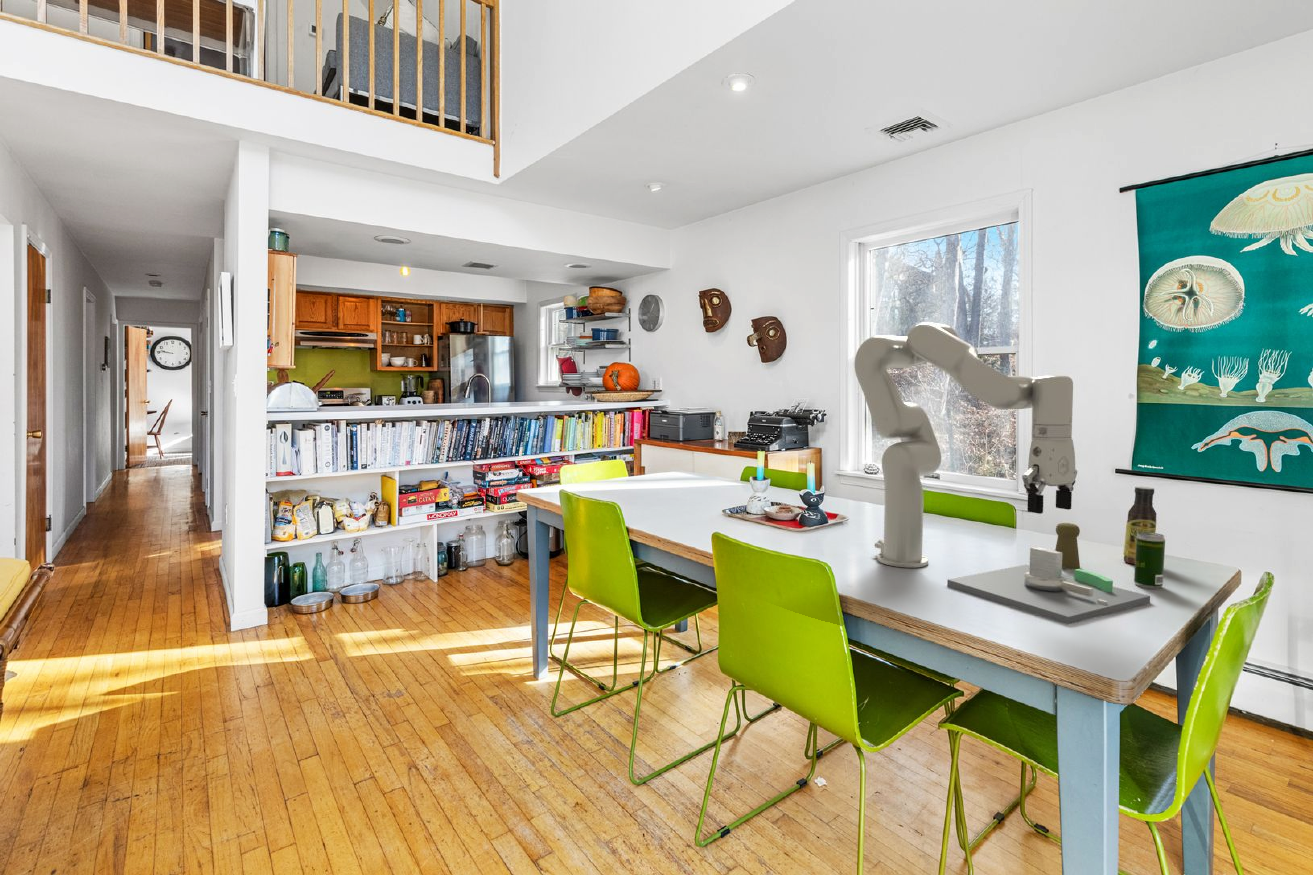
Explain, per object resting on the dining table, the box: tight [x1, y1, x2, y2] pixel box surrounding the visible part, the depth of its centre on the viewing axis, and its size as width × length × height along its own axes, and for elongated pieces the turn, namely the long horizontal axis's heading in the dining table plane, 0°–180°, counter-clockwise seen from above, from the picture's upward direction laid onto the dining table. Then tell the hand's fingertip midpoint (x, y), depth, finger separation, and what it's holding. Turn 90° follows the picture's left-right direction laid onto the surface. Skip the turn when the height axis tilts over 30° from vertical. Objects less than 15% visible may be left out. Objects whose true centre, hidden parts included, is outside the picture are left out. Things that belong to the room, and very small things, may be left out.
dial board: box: [946, 564, 1151, 625], centre depth 147 cm, size 28×28×4 cm
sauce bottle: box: [1123, 486, 1157, 565], centre depth 172 cm, size 7×6×20 cm
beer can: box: [1133, 532, 1166, 590], centre depth 153 cm, size 5×5×12 cm
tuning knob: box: [1024, 546, 1093, 597], centre depth 144 cm, size 14×8×8 cm, turn 27°
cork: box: [1054, 522, 1081, 570], centre depth 170 cm, size 6×6×11 cm
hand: (1049, 510), depth 146 cm, fingers open, 9 cm apart
